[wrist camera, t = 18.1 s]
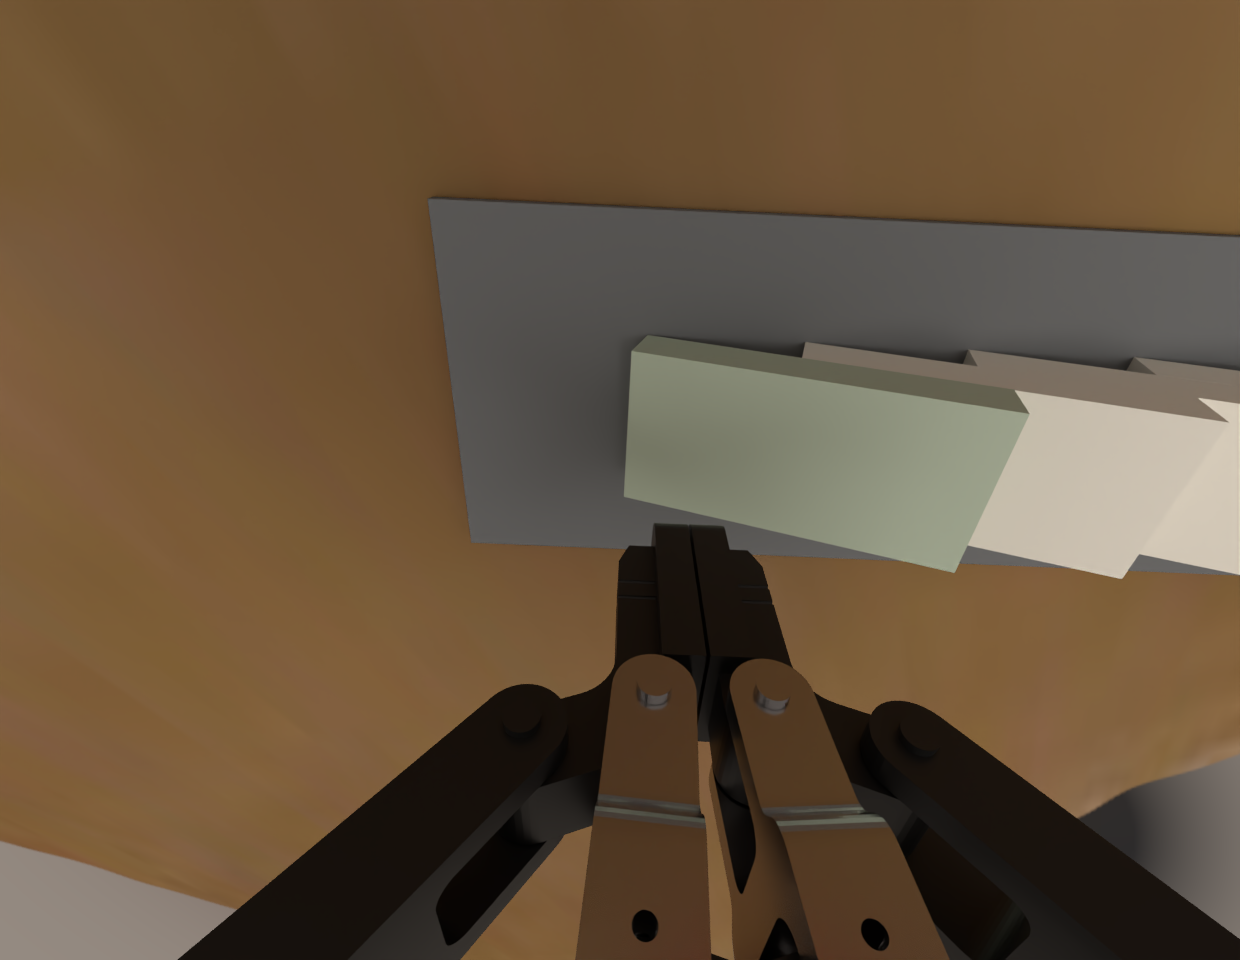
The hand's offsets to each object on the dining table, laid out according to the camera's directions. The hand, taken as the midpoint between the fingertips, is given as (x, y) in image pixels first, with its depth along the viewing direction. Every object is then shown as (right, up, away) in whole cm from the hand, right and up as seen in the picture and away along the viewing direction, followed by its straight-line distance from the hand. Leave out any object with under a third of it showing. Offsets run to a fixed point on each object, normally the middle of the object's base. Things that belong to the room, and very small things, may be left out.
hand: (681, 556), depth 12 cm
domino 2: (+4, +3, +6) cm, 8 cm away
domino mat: (+11, +4, +7) cm, 13 cm away
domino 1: (-1, +4, +6) cm, 7 cm away
